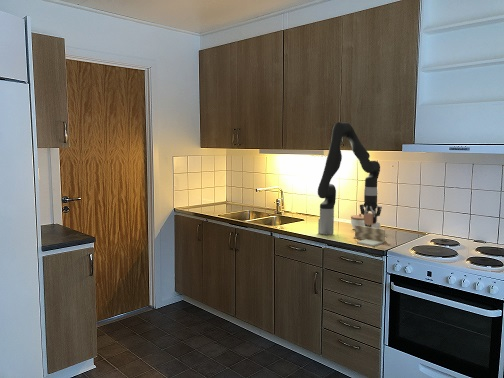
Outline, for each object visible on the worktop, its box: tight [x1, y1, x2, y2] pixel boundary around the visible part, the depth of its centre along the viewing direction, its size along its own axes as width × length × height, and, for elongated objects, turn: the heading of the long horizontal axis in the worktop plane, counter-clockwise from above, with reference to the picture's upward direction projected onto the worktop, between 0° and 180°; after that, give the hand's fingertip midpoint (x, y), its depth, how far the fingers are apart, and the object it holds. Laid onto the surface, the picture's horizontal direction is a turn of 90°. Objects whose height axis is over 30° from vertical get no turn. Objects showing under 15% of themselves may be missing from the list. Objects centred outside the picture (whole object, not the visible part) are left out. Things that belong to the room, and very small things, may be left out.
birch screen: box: [353, 225, 387, 244], centre depth 267 cm, size 20×5×8 cm, turn 44°
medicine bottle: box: [365, 219, 381, 229], centre depth 288 cm, size 7×7×12 cm
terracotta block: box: [364, 212, 376, 225], centre depth 257 cm, size 5×5×6 cm
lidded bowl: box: [350, 213, 365, 230], centre depth 299 cm, size 13×13×11 cm
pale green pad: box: [356, 239, 383, 247], centre depth 258 cm, size 11×10×1 cm
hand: (370, 222), depth 257 cm, fingers closed on terracotta block, 5 cm apart
